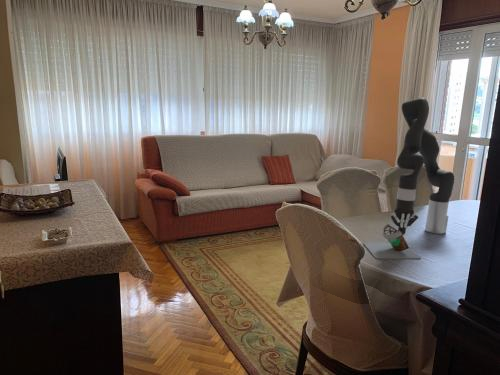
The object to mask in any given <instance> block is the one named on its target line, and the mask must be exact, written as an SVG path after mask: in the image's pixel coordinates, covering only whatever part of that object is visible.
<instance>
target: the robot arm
mask: <svg viewBox="0 0 500 375" xmlns="http://www.w3.org/2000/svg"><path fill="white" fill-rule="evenodd" d="M401 112H402V115H403V118H404V120H405V121H406V123H407V125H408V128H409V129H407V131H406V133H405V136H404V141H403V147H402V150H401V151H400V154H399V155H398V158H397V162H396V163H397V166H398V168H400V169H401V170H402V169H403V170H413V171H412V172H410V173H403V174H401V175H399V183H398V189H397V193H396V202H395V209H394V211H393V213H390V214H388V216H389V218H390V219H391V221H392V222H393V224H394V225H395V226H396V227H398V228H397V230H398V231H400V232H401V233H402V234H403V236H405V234H406V229H407V228H408V227H411V226H412V225H413V224H414V223H415V222H416V221H417V220H418V219H419V216H418V215H416V214H415V211H414V209H415V201H416V197H417V196H416V194H417V191H416V190H417V184H418V183H417V181H418V178H419V175H420V172H421V170H422V168H423V166H424V168H425V172H426V177H427V180H428V183H429V184H430V185H431V186H433V187H435V188H436V187H437V188H438V189H437V192H432V193H430V194H429V199H428V207H427V214H426V222H425V227H424V228H425V229H424V230H425V232H428V233H431V234H435V235H436V234H437V235H442V234H447V228H448V221H449V215H448V209H449V203H450V199H451V197H452V195H453V194H452V193H453V189H454V184H455V174H454V173H453V172H452V171H449V170H445V169H441V168H440V166H439V164H438V162H437V161H438V160H437V159H438V156H439V155H440V154H439V153H440V146H439V145H440V144H439V142H438V140H437V138H436V136H435V135H434V134H433V133H432V132H431V131H429V130H428V129H426V128H425V127H426V124H427V120H428V117H429V113H430V105H429V102H428V100H427V99H426V98H425V97H418V98H415V99H411V100H407V101H404V102H403V103H402V104H401ZM396 218H397V219H396Z"/></svg>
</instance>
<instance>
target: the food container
mask: <svg viewBox="0 0 500 375" xmlns="http://www.w3.org/2000/svg"><path fill="white" fill-rule="evenodd" d="M382 236H383V238H384V239H386V240H387V241H388V243H390V244H391V245H392V247H393V248H394V250H396V251H403V250H406V249H408V248H410V247H409V245H408V243H407V241H406V239H405V237H404V235H403V234H402V233H401V232H400V231H398V229H396V228H395V227H393V226H392V225H390V224H389V223H387V224H386V225H385V226H383V228H382Z"/></svg>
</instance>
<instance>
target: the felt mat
mask: <svg viewBox="0 0 500 375" xmlns="http://www.w3.org/2000/svg"><path fill="white" fill-rule="evenodd" d="M362 245H364V247H365V248H366V249H367V250H368V252H369V253H371V255H372V256H373V257H374V259H376V260H377V259H379V260H381V259H382V260H421V259H422V257H421V256H419V254H417V253H416V252H415V251H414V250H413V249H412V248H411V247H409V248H408V249H406V250H403V251H396V250H394V248H393V247H392V245H391V244H390V243H389V242H363V244H362Z"/></svg>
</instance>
